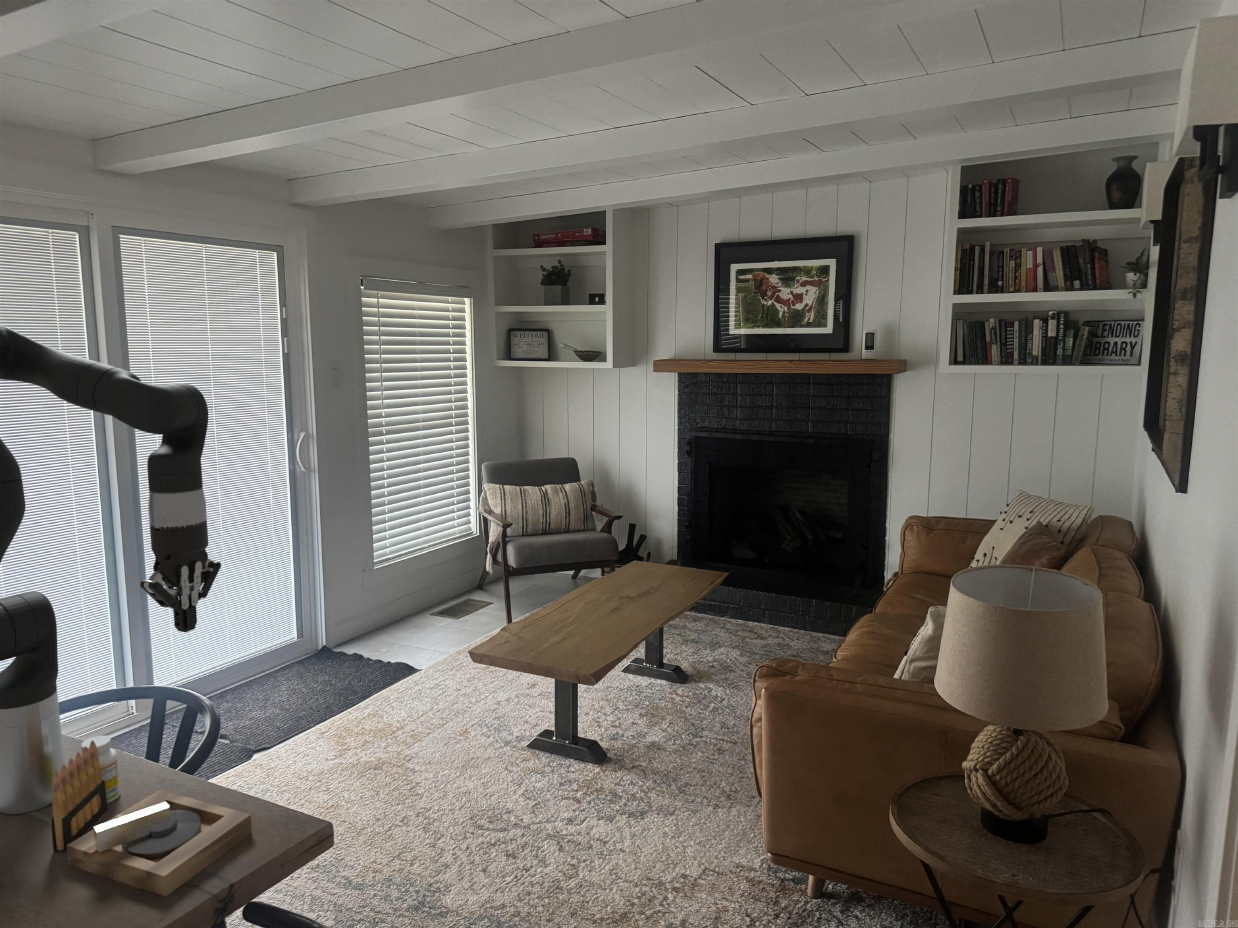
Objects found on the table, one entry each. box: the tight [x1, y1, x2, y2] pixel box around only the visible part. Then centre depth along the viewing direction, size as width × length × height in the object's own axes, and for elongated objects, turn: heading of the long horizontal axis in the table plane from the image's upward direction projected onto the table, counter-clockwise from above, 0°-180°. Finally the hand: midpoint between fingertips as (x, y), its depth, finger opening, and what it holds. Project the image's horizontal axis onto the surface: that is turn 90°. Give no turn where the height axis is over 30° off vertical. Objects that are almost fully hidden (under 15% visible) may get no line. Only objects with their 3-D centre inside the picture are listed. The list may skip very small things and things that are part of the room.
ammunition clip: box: [50, 740, 109, 853], centre depth 121 cm, size 11×2×12 cm, turn 3°
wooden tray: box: [66, 789, 253, 898], centre depth 117 cm, size 18×15×3 cm
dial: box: [93, 802, 201, 860], centre depth 116 cm, size 13×10×5 cm
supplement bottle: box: [80, 735, 121, 804], centre depth 129 cm, size 5×5×10 cm
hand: (186, 630), depth 124 cm, fingers closed
